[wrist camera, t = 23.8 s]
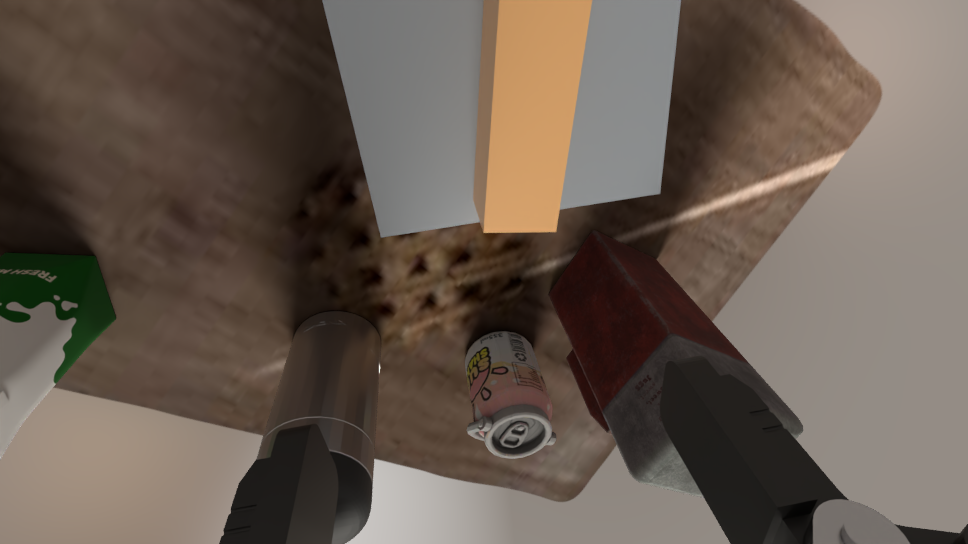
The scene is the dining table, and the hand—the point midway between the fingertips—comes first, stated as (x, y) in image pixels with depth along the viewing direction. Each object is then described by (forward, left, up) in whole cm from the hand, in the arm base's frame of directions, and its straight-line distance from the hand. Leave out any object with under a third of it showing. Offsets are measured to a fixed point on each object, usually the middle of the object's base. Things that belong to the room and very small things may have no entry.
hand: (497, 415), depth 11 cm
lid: (+2, -5, -24) cm, 24 cm away
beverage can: (-30, -3, -34) cm, 46 cm away
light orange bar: (+2, -5, -23) cm, 23 cm away
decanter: (-22, -15, -34) cm, 43 cm away
